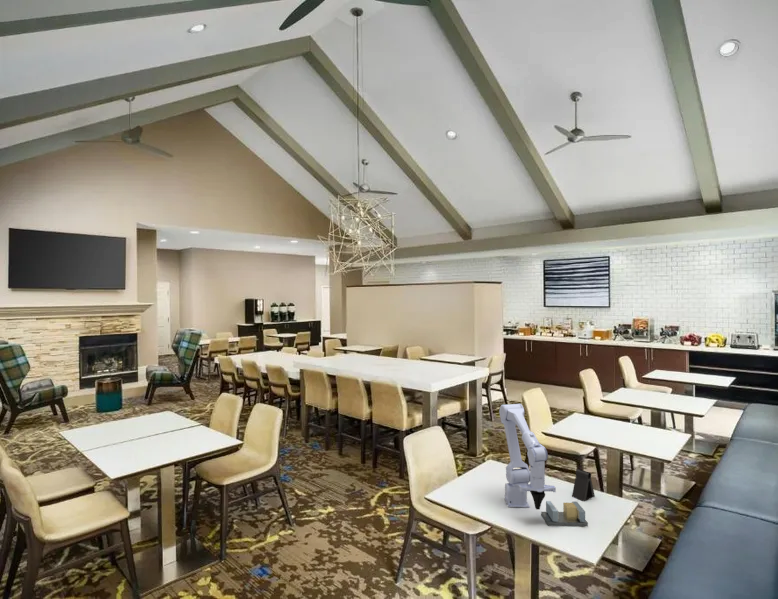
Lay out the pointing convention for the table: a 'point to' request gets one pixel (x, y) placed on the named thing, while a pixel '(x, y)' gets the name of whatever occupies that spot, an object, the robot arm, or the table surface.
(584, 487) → the phone stand
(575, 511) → the brass block
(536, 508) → the robot arm
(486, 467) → the table surface
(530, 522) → the table surface
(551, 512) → the sliding jaw
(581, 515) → the vise
